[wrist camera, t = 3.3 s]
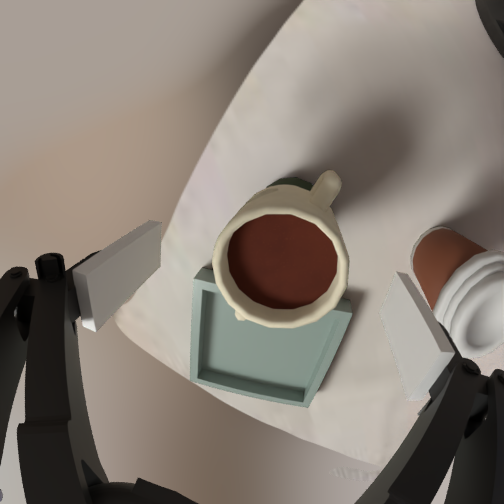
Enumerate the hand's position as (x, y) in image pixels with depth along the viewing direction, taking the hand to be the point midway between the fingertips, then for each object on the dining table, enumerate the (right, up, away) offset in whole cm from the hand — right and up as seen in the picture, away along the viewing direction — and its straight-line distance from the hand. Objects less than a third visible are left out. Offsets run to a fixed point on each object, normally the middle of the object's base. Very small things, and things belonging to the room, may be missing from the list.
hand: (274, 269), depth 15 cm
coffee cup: (+18, +1, +10) cm, 21 cm away
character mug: (+3, +5, +11) cm, 13 cm away
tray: (0, -10, +17) cm, 20 cm away
